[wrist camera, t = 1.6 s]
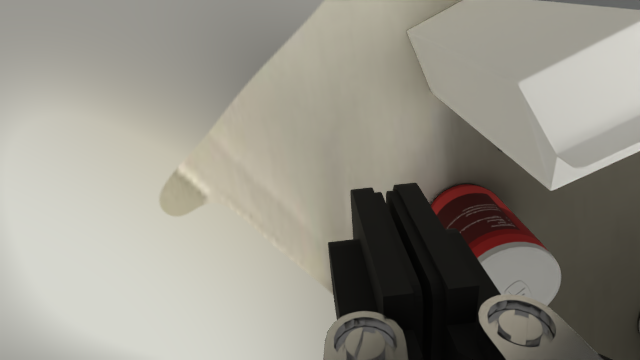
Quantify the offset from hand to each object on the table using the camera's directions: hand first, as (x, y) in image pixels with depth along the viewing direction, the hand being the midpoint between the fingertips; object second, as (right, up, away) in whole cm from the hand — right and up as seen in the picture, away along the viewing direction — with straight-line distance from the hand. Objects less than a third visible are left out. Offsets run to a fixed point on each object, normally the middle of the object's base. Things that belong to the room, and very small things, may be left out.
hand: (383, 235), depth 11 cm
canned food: (+13, -2, +32) cm, 34 cm away
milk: (+9, +13, +24) cm, 29 cm away
